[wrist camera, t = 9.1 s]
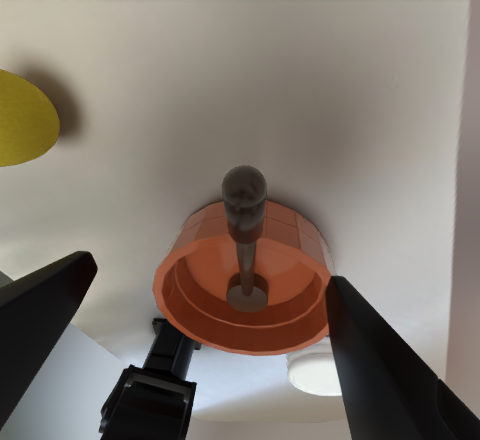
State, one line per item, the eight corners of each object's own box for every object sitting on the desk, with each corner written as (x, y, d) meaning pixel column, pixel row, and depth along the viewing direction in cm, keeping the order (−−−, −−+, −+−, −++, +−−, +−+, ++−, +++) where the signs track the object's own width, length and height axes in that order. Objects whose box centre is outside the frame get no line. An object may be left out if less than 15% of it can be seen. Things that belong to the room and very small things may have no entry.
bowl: (310, 313, 28) (319, 364, 23) (186, 299, 29) (169, 345, 24) (346, 200, 19) (372, 246, 14) (165, 188, 20) (132, 226, 15)
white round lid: (273, 343, 32) (273, 370, 30) (342, 327, 28) (350, 357, 26) (304, 374, 36) (307, 400, 34) (369, 364, 32) (379, 393, 30)
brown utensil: (266, 300, 26) (264, 401, 18) (228, 296, 26) (210, 393, 18) (289, 124, 15) (307, 180, 8) (225, 121, 16) (179, 172, 8)
